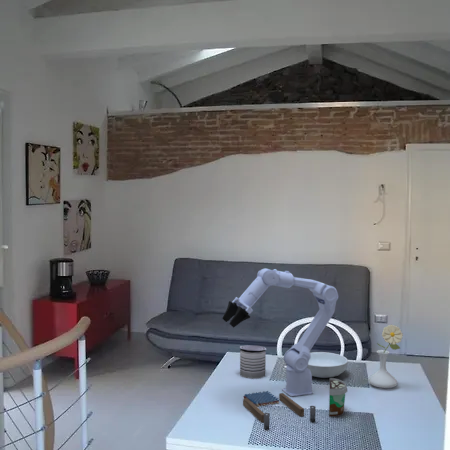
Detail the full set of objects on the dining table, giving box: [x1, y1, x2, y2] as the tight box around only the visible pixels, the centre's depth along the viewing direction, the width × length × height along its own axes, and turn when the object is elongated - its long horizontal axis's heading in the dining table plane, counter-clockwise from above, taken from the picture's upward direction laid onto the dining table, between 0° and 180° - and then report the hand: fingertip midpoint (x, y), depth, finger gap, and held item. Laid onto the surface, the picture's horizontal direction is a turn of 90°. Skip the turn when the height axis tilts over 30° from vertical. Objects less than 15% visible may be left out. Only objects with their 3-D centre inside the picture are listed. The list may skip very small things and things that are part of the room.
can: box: [239, 344, 267, 380], centre depth 225 cm, size 11×11×12 cm
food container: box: [328, 377, 348, 418], centre depth 185 cm, size 12×6×10 cm, turn 168°
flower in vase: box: [367, 324, 404, 389], centre depth 211 cm, size 13×11×25 cm
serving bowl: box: [307, 351, 349, 379], centre depth 225 cm, size 21×21×7 cm
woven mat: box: [242, 390, 280, 408], centre depth 196 cm, size 10×11×2 cm
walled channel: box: [242, 392, 305, 424], centre depth 186 cm, size 16×16×2 cm
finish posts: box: [263, 405, 316, 431], centre depth 174 cm, size 19×2×5 cm, turn 111°
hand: (227, 323), depth 194 cm, fingers open, 7 cm apart
